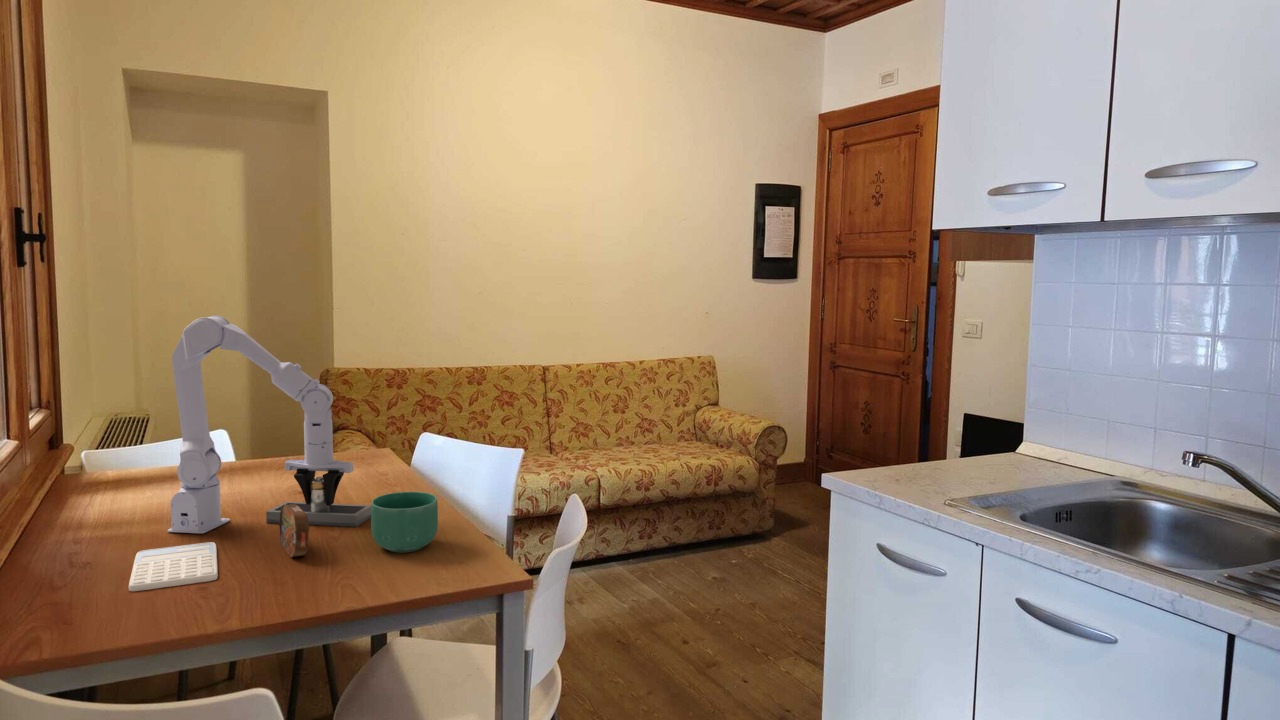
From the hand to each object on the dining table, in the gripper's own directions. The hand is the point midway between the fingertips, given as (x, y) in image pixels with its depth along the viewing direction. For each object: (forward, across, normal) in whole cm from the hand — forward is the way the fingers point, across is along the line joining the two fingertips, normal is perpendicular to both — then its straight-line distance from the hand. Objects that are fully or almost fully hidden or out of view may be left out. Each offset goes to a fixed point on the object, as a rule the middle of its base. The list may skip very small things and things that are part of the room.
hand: (319, 503), depth 180 cm
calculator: (+4, +11, +32) cm, 34 cm away
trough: (+3, 0, 0) cm, 3 cm away
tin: (+4, -5, +20) cm, 21 cm away
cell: (+2, 0, 0) cm, 2 cm away
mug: (+4, -24, +13) cm, 28 cm away
